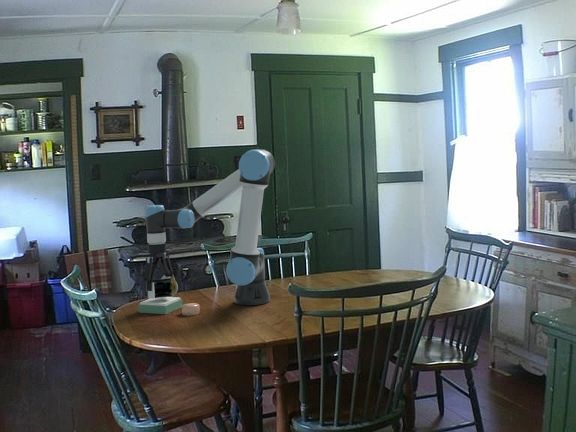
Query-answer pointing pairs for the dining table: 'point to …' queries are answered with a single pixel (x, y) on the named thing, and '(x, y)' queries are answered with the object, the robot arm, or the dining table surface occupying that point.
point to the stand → (160, 305)
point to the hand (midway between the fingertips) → (159, 295)
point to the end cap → (162, 288)
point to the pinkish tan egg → (190, 309)
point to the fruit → (173, 285)
